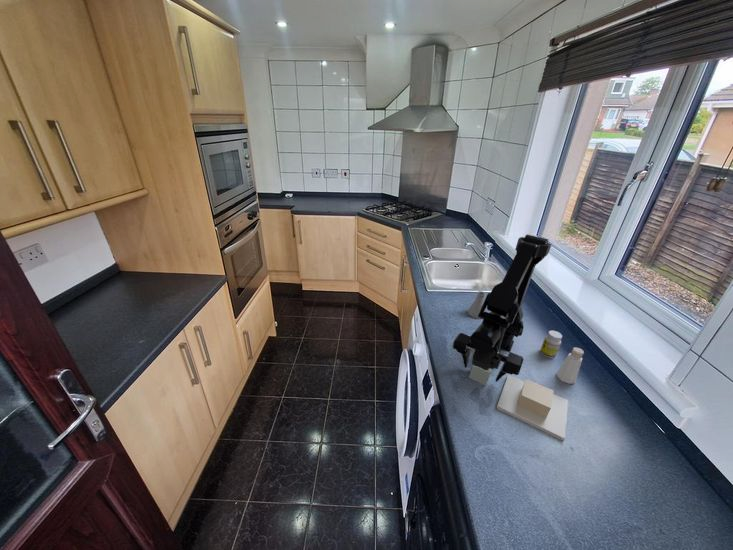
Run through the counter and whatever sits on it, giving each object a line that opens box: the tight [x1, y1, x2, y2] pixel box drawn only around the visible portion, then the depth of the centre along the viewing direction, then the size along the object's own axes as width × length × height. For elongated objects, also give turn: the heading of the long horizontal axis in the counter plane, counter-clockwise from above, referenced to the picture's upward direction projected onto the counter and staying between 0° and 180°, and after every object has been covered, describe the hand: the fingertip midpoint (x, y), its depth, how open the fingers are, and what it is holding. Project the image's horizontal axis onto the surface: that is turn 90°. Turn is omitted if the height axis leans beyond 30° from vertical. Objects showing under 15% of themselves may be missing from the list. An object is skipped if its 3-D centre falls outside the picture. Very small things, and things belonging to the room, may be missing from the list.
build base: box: [496, 374, 569, 442], centre depth 82 cm, size 14×16×5 cm
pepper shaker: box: [555, 346, 585, 385], centre depth 90 cm, size 5×5×11 cm
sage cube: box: [469, 364, 493, 386], centre depth 91 cm, size 5×5×5 cm
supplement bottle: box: [540, 330, 563, 359], centre depth 101 cm, size 5×5×8 cm
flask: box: [466, 290, 487, 320], centre depth 120 cm, size 7×7×10 cm
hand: (480, 373), depth 91 cm, fingers open, 9 cm apart
